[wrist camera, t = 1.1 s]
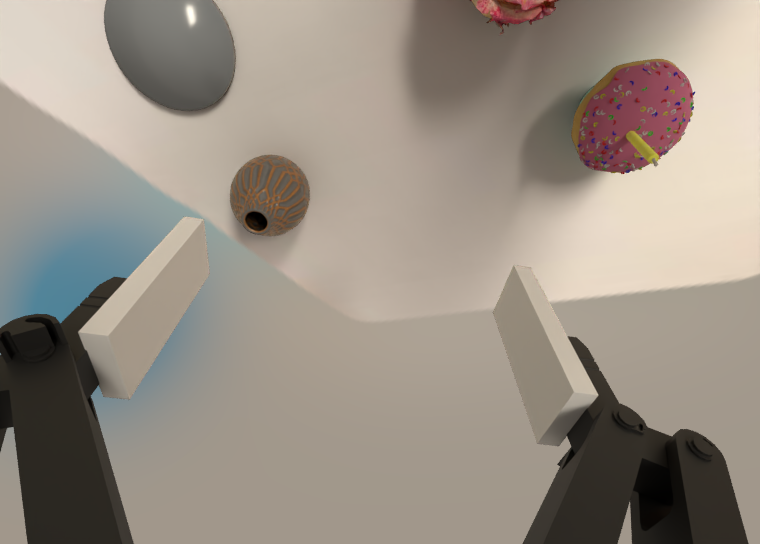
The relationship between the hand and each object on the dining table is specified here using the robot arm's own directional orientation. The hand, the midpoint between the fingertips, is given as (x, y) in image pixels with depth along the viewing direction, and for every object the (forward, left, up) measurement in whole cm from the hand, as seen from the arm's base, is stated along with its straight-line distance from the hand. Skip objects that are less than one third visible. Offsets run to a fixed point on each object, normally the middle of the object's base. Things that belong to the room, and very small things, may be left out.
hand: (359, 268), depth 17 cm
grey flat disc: (-3, -17, -23) cm, 29 cm away
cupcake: (-6, +20, -23) cm, 31 cm away
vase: (+7, -8, -23) cm, 26 cm away
